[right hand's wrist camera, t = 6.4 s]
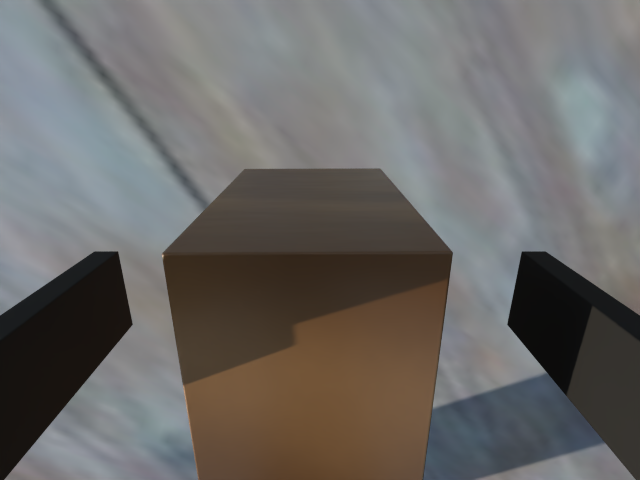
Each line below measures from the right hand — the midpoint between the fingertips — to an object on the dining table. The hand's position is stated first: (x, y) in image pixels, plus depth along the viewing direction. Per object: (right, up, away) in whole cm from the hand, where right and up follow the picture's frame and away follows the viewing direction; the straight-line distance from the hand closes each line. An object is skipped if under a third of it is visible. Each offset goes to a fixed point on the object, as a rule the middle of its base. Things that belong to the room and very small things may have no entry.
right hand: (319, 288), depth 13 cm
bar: (0, -6, +7) cm, 9 cm away
